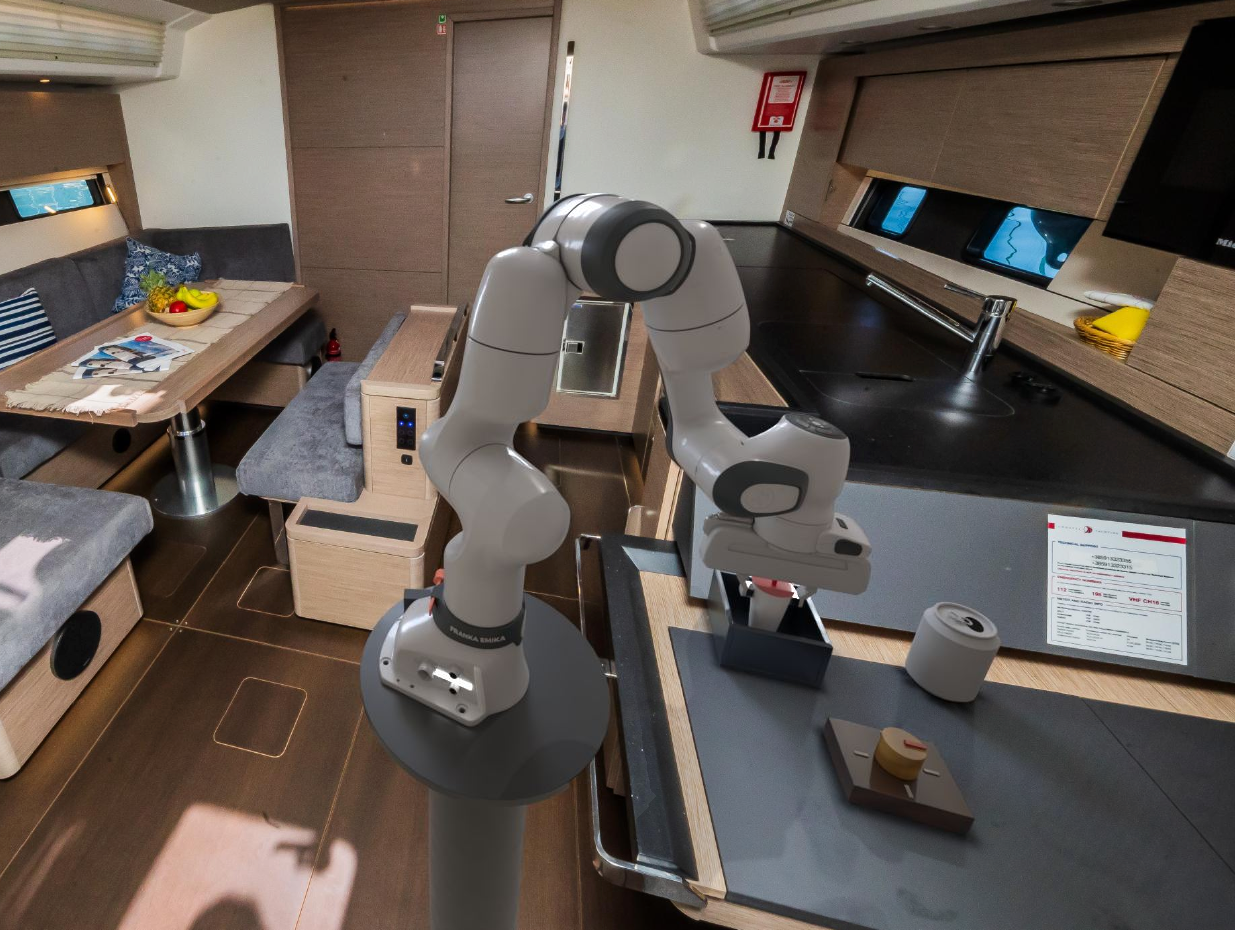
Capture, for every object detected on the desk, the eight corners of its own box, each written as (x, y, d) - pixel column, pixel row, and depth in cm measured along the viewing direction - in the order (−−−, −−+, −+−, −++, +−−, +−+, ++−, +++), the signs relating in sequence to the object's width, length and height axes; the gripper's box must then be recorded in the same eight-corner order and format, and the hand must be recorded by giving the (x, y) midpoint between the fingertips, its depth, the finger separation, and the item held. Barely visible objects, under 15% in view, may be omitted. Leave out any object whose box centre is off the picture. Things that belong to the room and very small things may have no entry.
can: (982, 716, 77) (1014, 649, 72) (908, 691, 80) (935, 626, 76) (966, 673, 83) (995, 609, 78) (898, 652, 86) (922, 589, 82)
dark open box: (719, 665, 86) (728, 626, 83) (706, 604, 96) (714, 567, 94) (820, 689, 81) (833, 648, 78) (794, 622, 92) (805, 584, 89)
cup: (762, 647, 85) (779, 584, 81) (732, 620, 90) (747, 559, 85) (791, 638, 86) (809, 575, 82) (759, 612, 91) (775, 551, 87)
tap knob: (882, 774, 68) (891, 752, 66) (868, 742, 71) (876, 720, 70) (924, 785, 66) (934, 763, 65) (908, 752, 70) (917, 731, 68)
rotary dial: (847, 802, 68) (854, 784, 67) (822, 732, 76) (828, 715, 74) (966, 836, 64) (976, 818, 63) (927, 759, 72) (934, 741, 71)
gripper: (710, 522, 81) (694, 598, 86) (887, 551, 75) (859, 631, 80) (703, 497, 87) (689, 570, 92) (868, 522, 80) (843, 598, 85)
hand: (769, 598), depth 86 cm, fingers closed on cup, 5 cm apart
